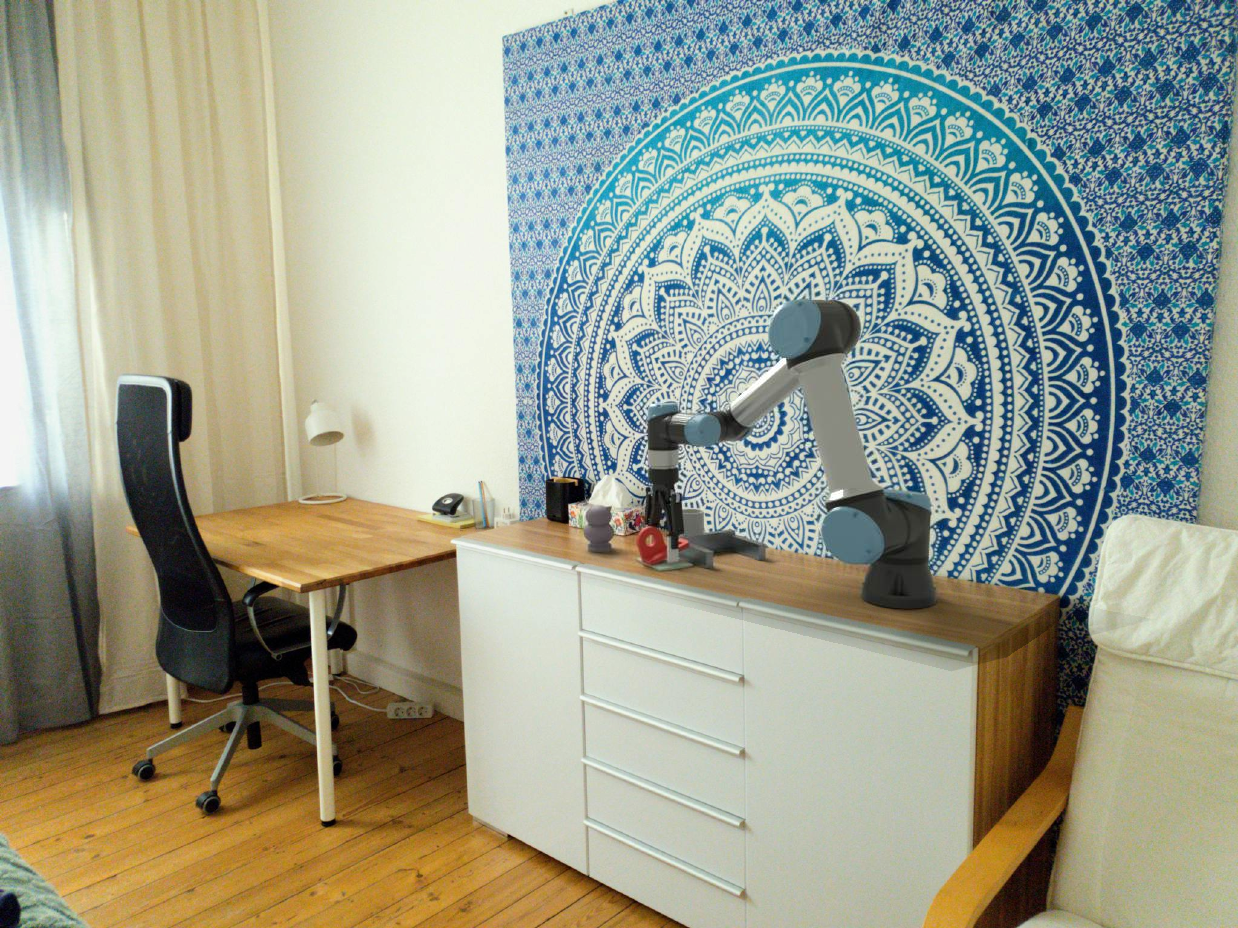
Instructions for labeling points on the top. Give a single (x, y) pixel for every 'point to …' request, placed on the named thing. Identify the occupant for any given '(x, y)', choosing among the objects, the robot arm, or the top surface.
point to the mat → (668, 564)
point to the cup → (693, 521)
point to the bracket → (655, 546)
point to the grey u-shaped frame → (719, 547)
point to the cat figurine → (599, 528)
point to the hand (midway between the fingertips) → (664, 557)
